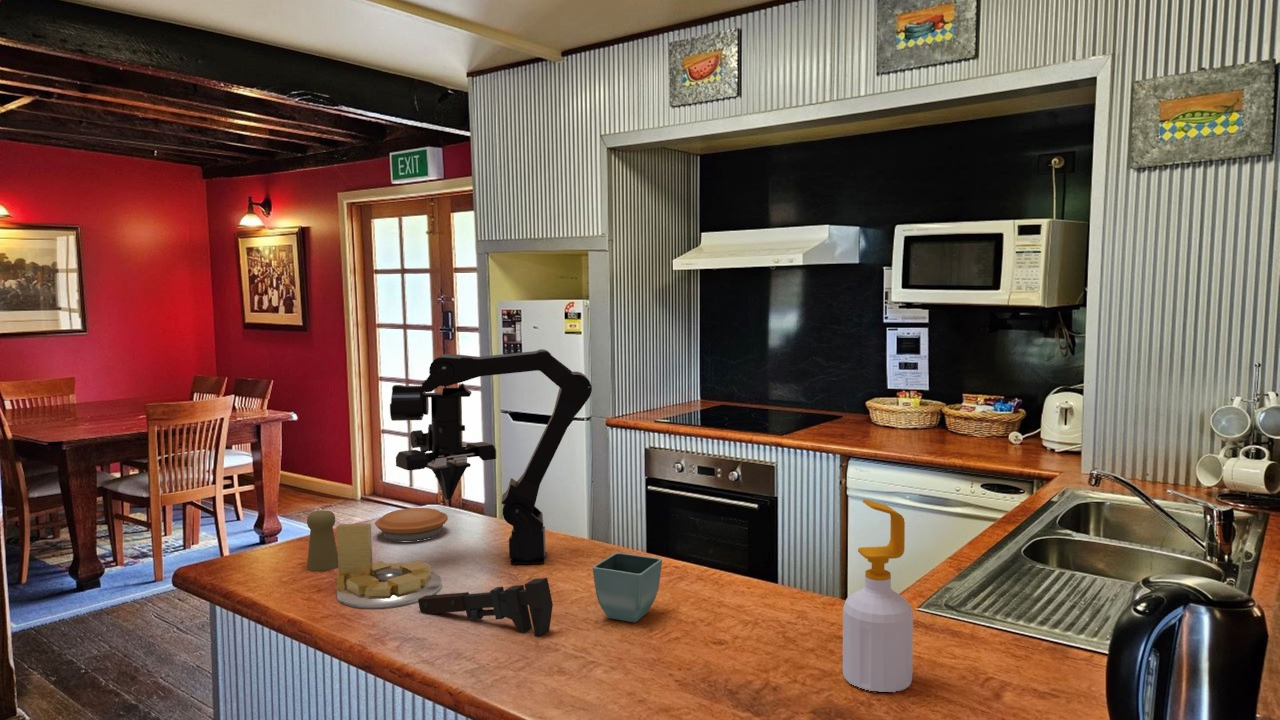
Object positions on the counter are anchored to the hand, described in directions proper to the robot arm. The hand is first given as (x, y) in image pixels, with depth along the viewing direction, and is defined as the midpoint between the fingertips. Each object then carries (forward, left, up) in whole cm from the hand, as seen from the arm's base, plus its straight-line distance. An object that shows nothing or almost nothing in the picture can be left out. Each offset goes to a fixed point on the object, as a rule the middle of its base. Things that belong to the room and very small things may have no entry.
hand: (448, 499), depth 168 cm
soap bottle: (-69, +52, -13) cm, 87 cm away
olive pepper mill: (+25, 0, -13) cm, 28 cm away
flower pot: (-35, +28, -13) cm, 47 cm away
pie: (+13, -21, -13) cm, 28 cm away
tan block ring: (+9, +14, -12) cm, 20 cm away
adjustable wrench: (-12, +29, -14) cm, 34 cm away
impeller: (+8, +14, -13) cm, 21 cm away
